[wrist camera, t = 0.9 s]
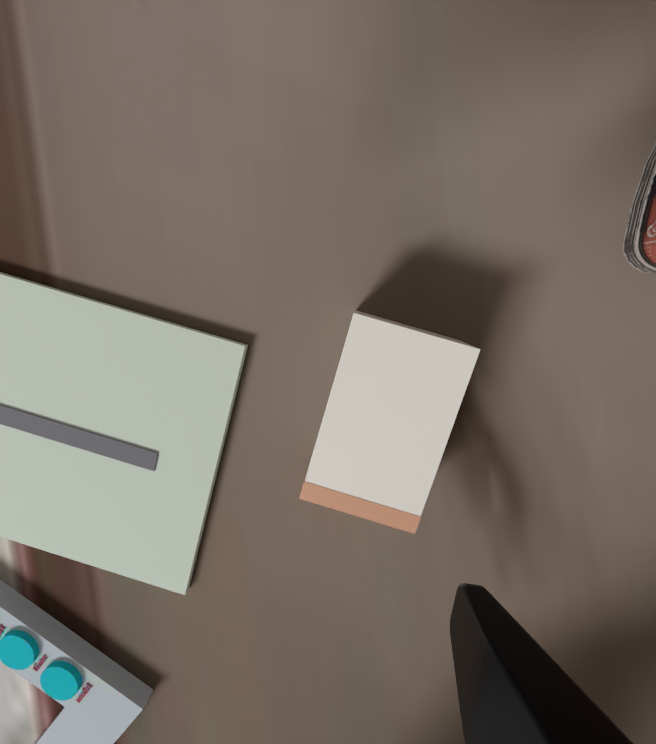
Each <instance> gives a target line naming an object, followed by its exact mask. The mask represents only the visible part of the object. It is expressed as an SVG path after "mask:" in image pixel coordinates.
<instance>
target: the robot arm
mask: <svg viewBox="0 0 656 744" xmlns="http://www.w3.org/2000/svg"><path fill="white" fill-rule="evenodd" d="M450 636H451V644H452V651H453V659H454V667H455V675H456V682H457V690H458V698H459V705H460V713H461V720H462V727H463V733H464V738H465V743H466V744H633V743H632V742H631V741H630V740H629V739H628V738H627V737H626V736H625V734H624V733H623V732H622V731H621V730H620V729H619V728H618V727H617V726H616V725H615V724H614V723H613V722H612V721H611V720H610V719H609V718H608V717H607V716H606V715H605V713H604V712H603V711H602V710H601V709H600V708H599V707H598V706H597V705H596V704H595V703H594V702H593V701H592V700H591V699H590V698H589V697H588V696H587V695H586V694H585V692H584V691H583V690H582V689H581V688H580V687H579V686H578V685H577V684H576V683H575V682H574V681H573V680H572V679H571V678H570V677H569V676H568V675H567V674H566V673H565V671H564V670H563V669H562V668H561V667H560V666H559V665H558V664H557V663H556V662H555V661H554V660H553V659H552V658H551V657H550V656H549V655H548V654H547V653H546V652H545V650H544V649H543V648H542V647H541V646H540V645H539V644H538V643H537V642H536V641H535V640H534V639H533V638H532V637H531V636H530V635H529V634H528V633H527V632H526V631H525V630H524V628H523V627H522V626H521V625H520V624H519V623H518V622H517V621H516V620H515V619H514V618H513V617H512V616H511V615H510V614H509V613H508V612H507V611H506V610H505V609H504V607H503V606H502V605H501V604H500V603H499V602H498V601H497V600H496V599H495V598H494V597H493V596H492V595H491V594H490V593H489V592H488V591H487V590H486V589H485V588H484V587H482V586H480V585H473V584H466V583H462V584H460V585H459V587H458V589H457V592H456V596H455V601H454V605H453V609H452V614H451V618H450Z"/></svg>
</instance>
